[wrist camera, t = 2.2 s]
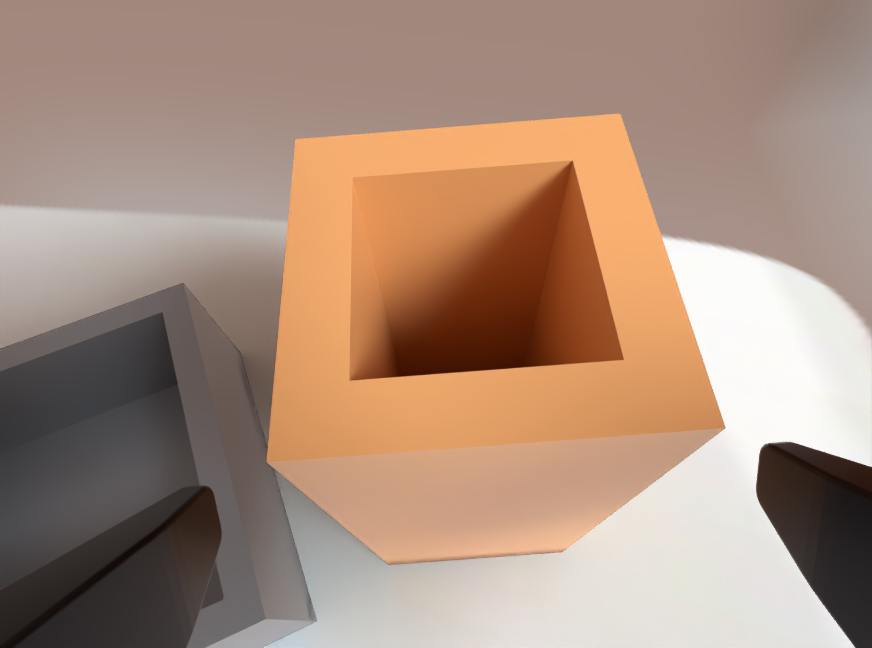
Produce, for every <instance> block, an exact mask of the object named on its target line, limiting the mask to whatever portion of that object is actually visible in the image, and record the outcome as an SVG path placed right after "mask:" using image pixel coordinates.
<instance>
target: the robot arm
mask: <svg viewBox="0 0 872 648" xmlns="http://www.w3.org/2000/svg"><path fill="white" fill-rule="evenodd" d="M756 493H757V498H758V500H759V503H760V505H761V507H762V508H763V510H764V512H765V513H766V515H767V517H768V518H769V520H770V522H771V523H772V525H773V526H774V528H775V530H776V531H777V533H778V535H779V536H780V538H781V540H782V541H783V543H784V545H785V546H786V548H787V550H788V551H789V553H790V554H791V556H792V558H793V559H794V561H795V563H796V564H797V566H798V568H799V569H800V571H801V573H802V574H803V576H804V577H805V579H806V580H807V582H808V583H809V585H810V587H811V588H812V589H813V591H814V592H815V594H816V595H817V597H818V598H819V599H820V601H821V602H822V604H823V605H824V606H825V608H826V609H827V610H828V612H829V613H830V614H831V616H832V617H833V618H834V620H835V621H836V622H837V624H838V625H839V626H840V628H841V629H842V630H843V632H844V633H845V634H846V636H847V637H848V638H849V640H850V641H851V642H852V644H853V645H854V646H855V648H872V467H870V466H866V465H863V464H860V463H857V462H854V461H851V460H847V459H844V458H841V457H838V456H835V455H831V454H828V453H825V452H822V451H819V450H815V449H812V448H809V447H806V446H803V445H799V444H796V443H793V442H778V443H768V444H765V445H764V446H763V447H762V448H761V450H760V454H759V464H758V474H757V483H756ZM221 539H222V529H221V523H220V519H219V514H218V510H217V505H216V500H215V496H214V492H213V490H212V488H210V487H209V486H207V485H200V486H187V487H183V488H181V489H179V490H177V491H176V492H174V493H172V494H170V495H169V496H167V497H165V498H163V499H161V500H160V501H158V502H156V503H154V504H152V505H151V506H149V507H147V508H145V509H144V510H142V511H140V512H138V513H136V514H135V515H133V516H131V517H129V518H127V519H126V520H124V521H122V522H120V523H119V524H117V525H115V526H113V527H111V528H110V529H108V530H106V531H104V532H102V533H101V534H99V535H97V536H95V537H94V538H92V539H90V540H88V541H86V542H85V543H83V544H81V545H79V546H77V547H76V548H74V549H72V550H70V551H69V552H67V553H65V554H63V555H61V556H60V557H58V558H56V559H54V560H52V561H51V562H49V563H47V564H45V565H44V566H42V567H40V568H38V569H36V570H35V571H33V572H31V573H29V574H27V575H26V576H24V577H22V578H20V579H18V580H17V581H15V582H13V583H11V584H10V585H8V586H6V587H4V588H2V589H1V590H0V648H187V646H188V644H189V641H190V638H191V636H192V633H193V631H194V628H195V625H196V622H197V619H198V616H199V613H200V609H201V606H202V603H203V600H204V596H205V593H206V590H207V587H208V583H209V580H210V577H211V573H212V570H213V567H214V564H215V560H216V557H217V554H218V551H219V547H220V544H221Z"/></svg>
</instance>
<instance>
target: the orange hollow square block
mask: <svg viewBox="0 0 872 648" xmlns="http://www.w3.org/2000/svg"><path fill="white" fill-rule="evenodd" d="M724 429H725V425H724V422H723V419H722V416H721V413H720V410H719V407H718V404H717V401H716V398H715V395H714V392H713V389H712V386H711V383H710V380H709V377H708V374H707V371H706V368H705V365H704V362H703V359H702V356H701V353H700V350H699V347H698V344H697V341H696V338H695V335H694V332H693V329H692V326H691V324H690V321H689V318H688V315H687V312H686V309H685V306H684V303H683V300H682V297H681V294H680V291H679V288H678V285H677V282H676V279H675V276H674V273H673V270H672V267H671V264H670V261H669V258H668V255H667V252H666V249H665V246H664V243H663V240H662V237H661V234H660V231H659V228H658V225H657V222H656V219H655V216H654V213H653V210H652V207H651V204H650V201H649V198H648V195H647V192H646V189H645V186H644V183H643V180H642V177H641V174H640V171H639V169H638V165H637V162H636V159H635V156H634V153H633V151H632V147H631V144H630V141H629V138H628V135H627V133H626V129H625V126H624V124H623V121H622V117H621V114H609V115H597V116H584V117H572V118H559V119H546V120H533V121H521V122H509V123H495V124H483V125H471V126H457V127H444V128H432V129H420V130H408V131H394V132H381V133H368V134H356V135H344V136H331V137H319V138H305V139H296V140H295V151H294V162H293V173H292V185H291V195H290V207H289V218H288V229H287V240H286V251H285V262H284V273H283V284H282V296H281V307H280V318H279V329H278V340H277V351H276V362H275V373H274V384H273V396H272V407H271V418H270V429H269V440H268V451H267V463H268V464H269V465H270V466H272V467H273V468H274V469H275V470H276V471H277V472H279V473H280V474H281V475H282V476H283V477H285V478H286V479H287V480H288V481H289V482H291V483H292V484H293V485H294V486H295V487H297V488H298V489H299V490H300V491H301V492H303V493H304V494H305V495H306V496H307V497H309V498H310V499H311V500H312V501H313V502H314V503H316V504H317V505H318V506H319V507H320V508H322V509H323V510H324V511H325V512H326V513H328V514H329V515H330V516H331V517H332V518H334V519H335V520H336V521H337V522H338V523H340V524H341V525H342V526H343V527H344V528H346V529H347V530H348V531H349V532H350V533H351V534H353V535H354V536H355V537H356V538H357V539H359V540H360V541H361V542H362V543H363V544H365V545H366V546H367V547H368V548H369V549H371V550H372V551H373V552H374V553H375V554H377V555H378V556H379V557H380V558H381V559H383V560H384V561H385V562H386V563H387V564H388V565H392V564H405V563H419V562H433V561H446V560H460V559H474V558H488V557H501V556H515V555H529V554H542V553H556V552H563V551H564V550H565V549H567V548H568V547H569V546H571V545H572V544H573V543H575V542H576V541H577V540H579V539H580V538H581V537H583V536H584V535H585V534H587V533H588V532H589V531H590V530H592V529H593V528H594V527H596V526H597V525H598V524H600V523H601V522H602V521H604V520H605V519H606V518H608V517H609V516H610V515H612V514H613V513H614V512H616V511H617V510H618V509H619V508H621V507H622V506H623V505H625V504H626V503H627V502H629V501H630V500H631V499H633V498H634V497H635V496H637V495H638V494H639V493H641V492H642V491H643V490H645V489H646V488H647V487H648V486H650V485H651V484H652V483H654V482H655V481H656V480H658V479H659V478H660V477H662V476H663V475H664V474H666V473H667V472H668V471H670V470H671V469H672V468H674V467H675V466H676V465H677V464H679V463H680V462H681V461H683V460H684V459H685V458H687V457H688V456H689V455H691V454H692V453H693V452H695V451H696V450H697V449H699V448H700V447H701V446H703V445H704V444H705V443H707V442H708V441H709V440H710V439H712V438H713V437H714V436H716V435H717V434H718V433H720V432H721V431H722V430H724Z"/></svg>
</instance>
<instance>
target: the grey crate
mask: <svg viewBox="0 0 872 648" xmlns="http://www.w3.org/2000/svg"><path fill="white" fill-rule="evenodd" d="M267 451H268V449H267V445H266V442H265V438H264V435H263V431H262V428H261V424H260V421H259V417H258V414H257V410H256V407H255V403H254V400H253V396H252V393H251V389H250V386H249V382H248V379H247V375H246V372H245V368H244V365H243V361H242V358H241V354H240V352H239V351H238V349H237V348H236V347H235V346H234V345H233V343H232V342H231V341H230V340H229V338H228V337H227V336H226V335H225V333H224V332H223V331H222V330H221V329H220V327H219V326H218V325H217V324H216V322H215V321H214V320H213V319H212V317H211V316H210V315H209V314H208V313H207V311H206V310H205V309H204V308H203V306H202V305H201V304H200V303H199V301H198V300H197V299H196V298H195V297H194V295H193V294H192V293H191V292H190V290H189V289H188V288H187V287H186V285H185V284H184V283H182V284H179V285H176V286H173V287H170V288H168V289H165V290H162V291H159V292H157V293H154V294H151V295H148V296H146V297H143V298H140V299H137V300H134V301H132V302H129V303H126V304H123V305H121V306H118V307H115V308H112V309H110V310H107V311H104V312H101V313H98V314H96V315H93V316H90V317H87V318H85V319H82V320H79V321H76V322H73V323H71V324H68V325H65V326H62V327H60V328H57V329H54V330H51V331H49V332H46V333H43V334H40V335H37V336H35V337H32V338H29V339H26V340H24V341H21V342H18V343H15V344H12V345H10V346H7V347H4V348H1V349H0V590H1V589H2V588H4V587H6V586H8V585H10V584H11V583H13V582H15V581H17V580H18V579H20V578H22V577H24V576H26V575H27V574H29V573H31V572H33V571H35V570H36V569H38V568H40V567H42V566H44V565H45V564H47V563H49V562H51V561H52V560H54V559H56V558H58V557H60V556H61V555H63V554H65V553H67V552H69V551H70V550H72V549H74V548H76V547H77V546H79V545H81V544H83V543H85V542H86V541H88V540H90V539H92V538H94V537H95V536H97V535H99V534H101V533H102V532H104V531H106V530H108V529H110V528H111V527H113V526H115V525H117V524H119V523H120V522H122V521H124V520H126V519H127V518H129V517H131V516H133V515H135V514H136V513H138V512H140V511H142V510H144V509H145V508H147V507H149V506H151V505H152V504H154V503H156V502H158V501H160V500H161V499H163V498H165V497H167V496H169V495H170V494H172V493H174V492H176V491H177V490H179V489H181V488H183V487H187V486H200V485H207V486H209V487H210V488H212V490H213V492H214V496H215V500H216V505H217V510H218V514H219V519H220V523H221V529H222V539H221V544H220V547H219V551H218V554H217V557H216V560H215V564H214V567H213V570H212V573H211V577H210V580H209V583H208V587H207V590H206V593H205V596H204V600H203V603H202V606H201V609H200V613H199V616H198V619H197V622H196V625H195V628H194V631H193V633H192V636H191V638H190V641H189V644H188V646H187V648H262V647H264V646H266V645H268V644H271V643H273V642H275V641H277V640H279V639H281V638H283V637H285V636H287V635H289V634H291V633H293V632H295V631H298V630H300V629H302V628H304V627H306V626H308V625H310V624H312V623H314V622H316V621H317V620H316V616H315V613H314V609H313V606H312V602H311V599H310V595H309V592H308V588H307V585H306V581H305V578H304V574H303V571H302V567H301V564H300V560H299V557H298V553H297V550H296V546H295V543H294V539H293V536H292V532H291V529H290V525H289V522H288V518H287V515H286V511H285V508H284V504H283V501H282V497H281V494H280V490H279V487H278V483H277V480H276V476H275V473H274V469H273V467H272V466H270V465H269V464H268V463H267Z"/></svg>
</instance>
